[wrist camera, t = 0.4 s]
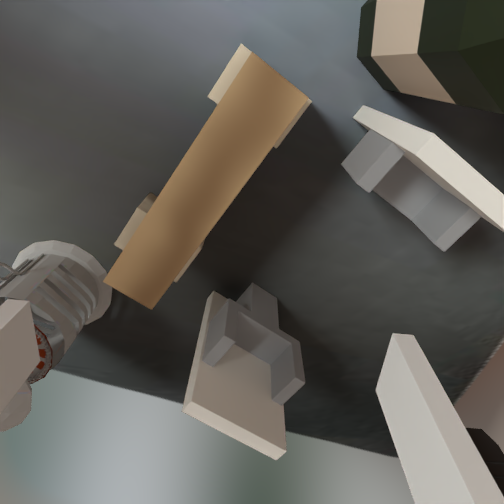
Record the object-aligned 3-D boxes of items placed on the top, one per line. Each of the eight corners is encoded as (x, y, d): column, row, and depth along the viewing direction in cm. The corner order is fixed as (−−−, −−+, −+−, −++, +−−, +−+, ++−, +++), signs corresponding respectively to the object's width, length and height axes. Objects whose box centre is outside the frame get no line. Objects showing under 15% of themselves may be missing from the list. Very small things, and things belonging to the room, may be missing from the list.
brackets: (207, 298, 39) (181, 411, 26) (363, 104, 31) (434, 133, 18) (271, 337, 41) (276, 460, 28) (433, 165, 33) (542, 228, 20)
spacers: (128, 226, 36) (113, 244, 32) (243, 45, 29) (241, 43, 26) (184, 261, 37) (176, 282, 34) (305, 96, 31) (311, 101, 27)
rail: (124, 251, 32) (102, 281, 28) (253, 53, 26) (252, 51, 21) (166, 276, 33) (151, 310, 29) (300, 92, 27) (308, 97, 22)
